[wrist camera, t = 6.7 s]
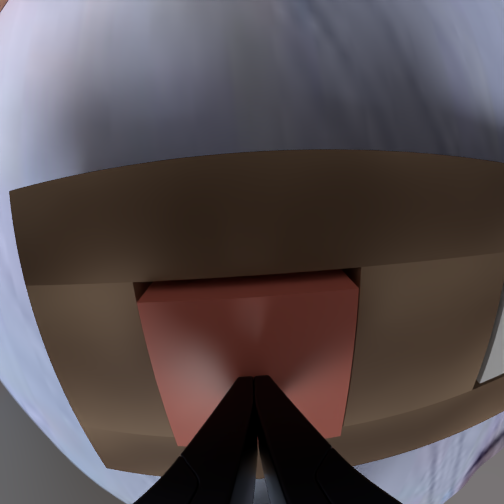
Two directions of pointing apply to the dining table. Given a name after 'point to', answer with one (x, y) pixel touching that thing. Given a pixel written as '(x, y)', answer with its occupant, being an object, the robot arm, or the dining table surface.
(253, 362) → the salmon pink cube
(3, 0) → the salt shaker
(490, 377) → the pale grey cube
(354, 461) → the brown tray
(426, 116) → the dining table surface
